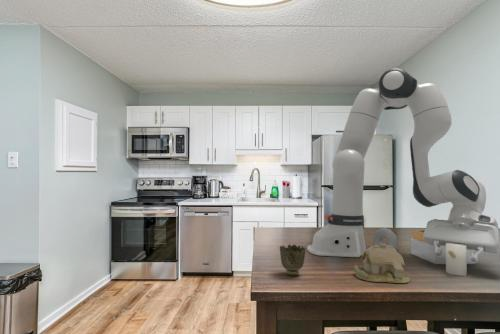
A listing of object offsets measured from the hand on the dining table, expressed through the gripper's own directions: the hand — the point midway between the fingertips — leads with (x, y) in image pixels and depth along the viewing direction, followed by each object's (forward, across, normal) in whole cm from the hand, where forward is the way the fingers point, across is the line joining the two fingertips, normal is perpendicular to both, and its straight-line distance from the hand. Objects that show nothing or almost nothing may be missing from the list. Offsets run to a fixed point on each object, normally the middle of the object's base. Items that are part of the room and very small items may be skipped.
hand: (455, 257), depth 95 cm
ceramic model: (+19, -13, -11) cm, 25 cm away
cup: (+31, -31, -24) cm, 50 cm away
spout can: (+4, 0, +3) cm, 5 cm away
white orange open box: (-9, -8, +16) cm, 20 cm away
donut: (-1, -24, +8) cm, 25 cm away
